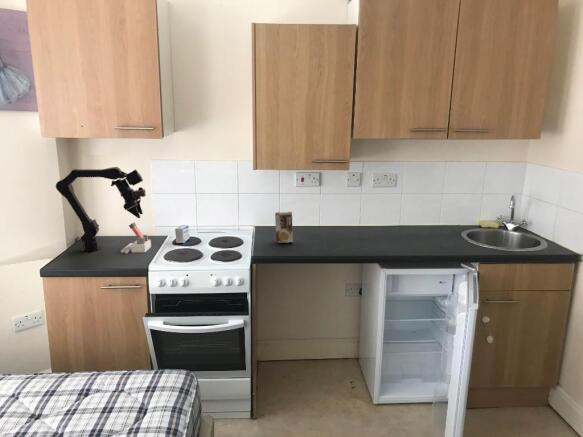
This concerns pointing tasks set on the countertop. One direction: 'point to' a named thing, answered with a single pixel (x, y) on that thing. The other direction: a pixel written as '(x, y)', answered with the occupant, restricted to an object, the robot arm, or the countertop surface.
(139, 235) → the lever
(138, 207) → the robot arm
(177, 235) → the medicine box
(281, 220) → the coffee box
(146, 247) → the switch box
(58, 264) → the countertop surface
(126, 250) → the cables
